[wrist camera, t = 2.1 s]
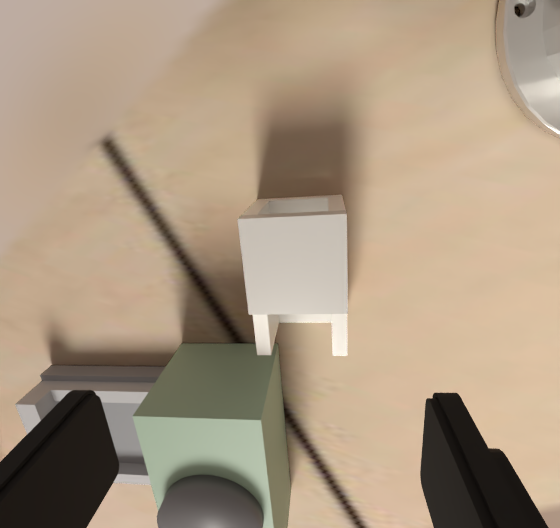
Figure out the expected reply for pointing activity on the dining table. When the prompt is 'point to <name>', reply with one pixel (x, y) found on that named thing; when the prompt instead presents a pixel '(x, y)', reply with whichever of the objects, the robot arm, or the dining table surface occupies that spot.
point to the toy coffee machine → (191, 431)
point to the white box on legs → (296, 266)
